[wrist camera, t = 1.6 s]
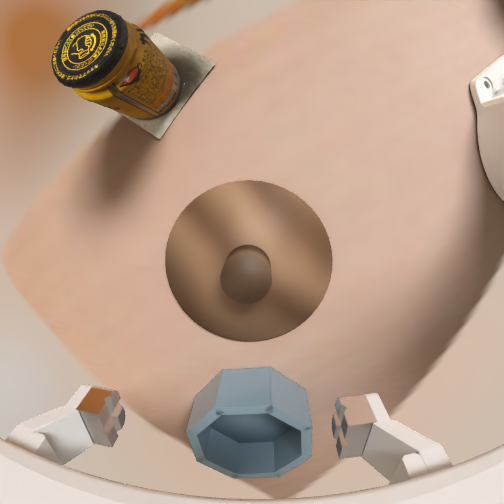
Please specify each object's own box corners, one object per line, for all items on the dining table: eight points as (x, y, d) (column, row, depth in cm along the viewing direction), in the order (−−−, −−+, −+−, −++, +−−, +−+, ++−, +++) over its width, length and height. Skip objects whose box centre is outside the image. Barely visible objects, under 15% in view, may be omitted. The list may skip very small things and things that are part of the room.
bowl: (243, 348, 30) (239, 384, 24) (327, 402, 31) (336, 439, 26) (179, 410, 32) (168, 445, 26) (259, 453, 34) (258, 488, 28)
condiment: (104, 103, 24) (24, 75, 13) (156, 32, 23) (102, -31, 11) (160, 140, 25) (92, 120, 14) (216, 64, 23) (186, -4, 12)
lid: (235, 145, 26) (230, 140, 21) (362, 253, 28) (378, 266, 23) (139, 273, 29) (122, 289, 25) (259, 362, 31) (259, 387, 27)
